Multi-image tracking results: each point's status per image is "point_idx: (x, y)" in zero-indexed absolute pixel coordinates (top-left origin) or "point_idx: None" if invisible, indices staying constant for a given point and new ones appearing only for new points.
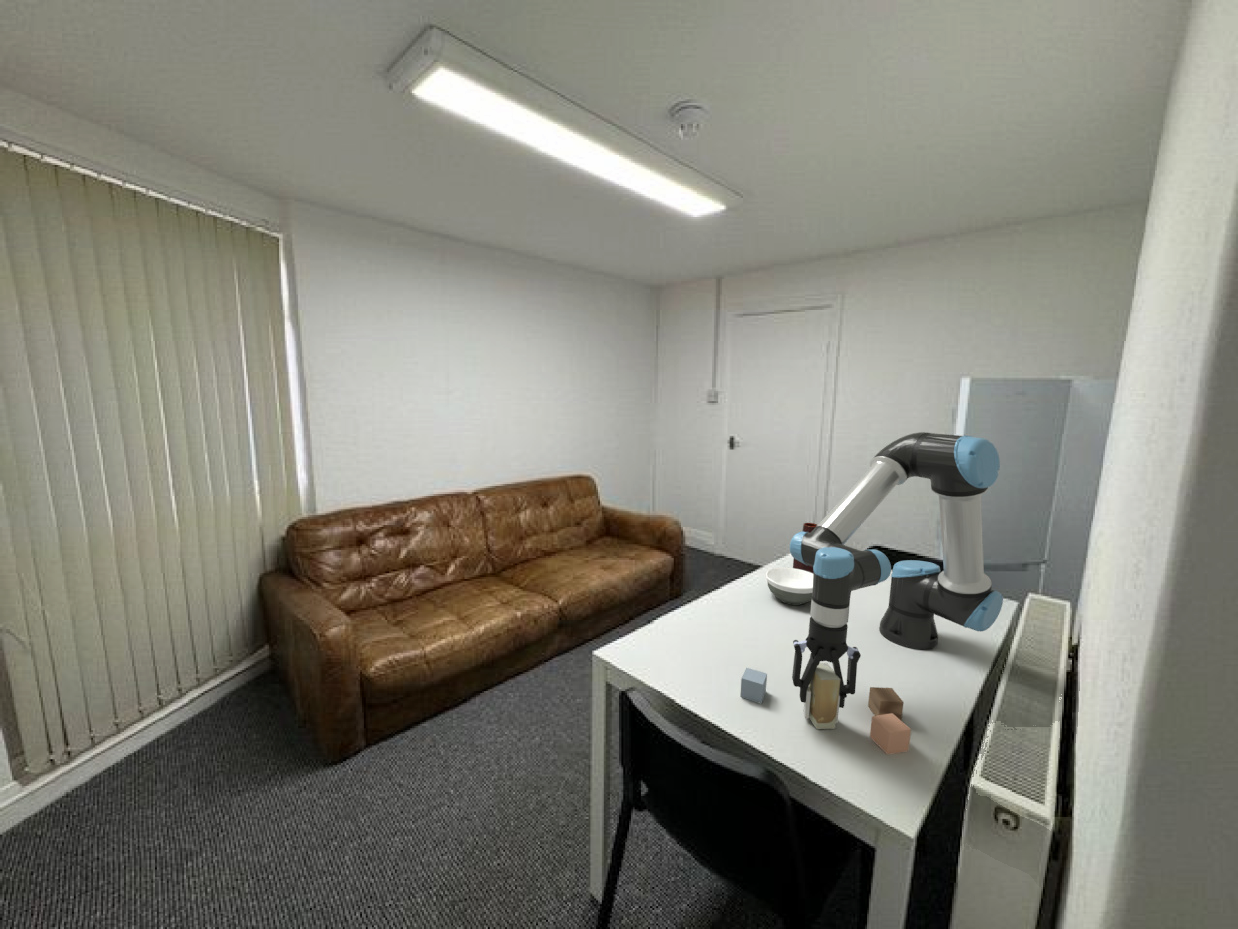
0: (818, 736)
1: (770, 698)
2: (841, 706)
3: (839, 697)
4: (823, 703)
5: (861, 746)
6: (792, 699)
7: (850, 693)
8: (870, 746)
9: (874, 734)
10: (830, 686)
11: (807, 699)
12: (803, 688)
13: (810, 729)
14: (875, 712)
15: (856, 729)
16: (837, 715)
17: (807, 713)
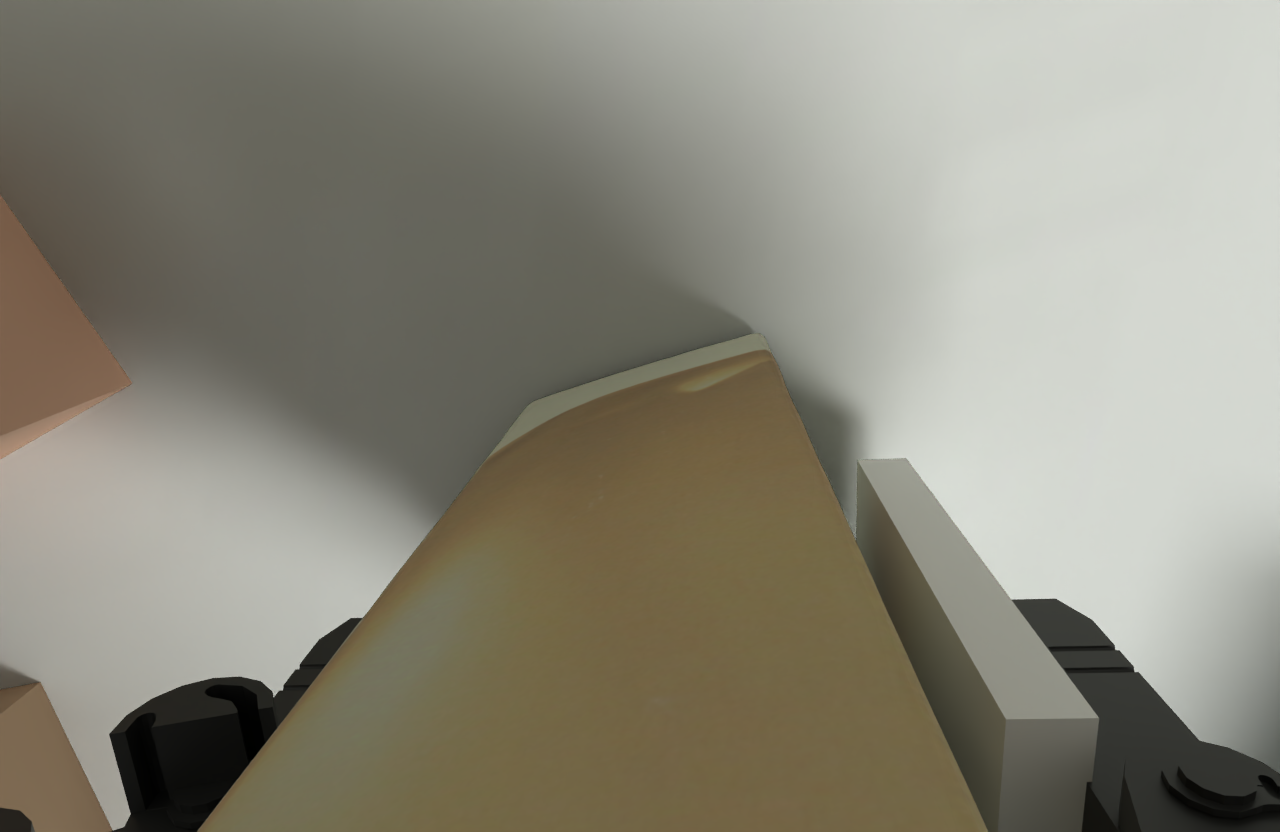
0: (755, 200)
1: None
2: None
3: None
4: (714, 474)
5: (233, 171)
6: None
7: (11, 823)
8: (130, 206)
9: (22, 341)
10: (493, 830)
11: (998, 607)
12: (1246, 776)
13: (840, 314)
14: (35, 782)
15: (274, 476)
16: None
17: (897, 488)
